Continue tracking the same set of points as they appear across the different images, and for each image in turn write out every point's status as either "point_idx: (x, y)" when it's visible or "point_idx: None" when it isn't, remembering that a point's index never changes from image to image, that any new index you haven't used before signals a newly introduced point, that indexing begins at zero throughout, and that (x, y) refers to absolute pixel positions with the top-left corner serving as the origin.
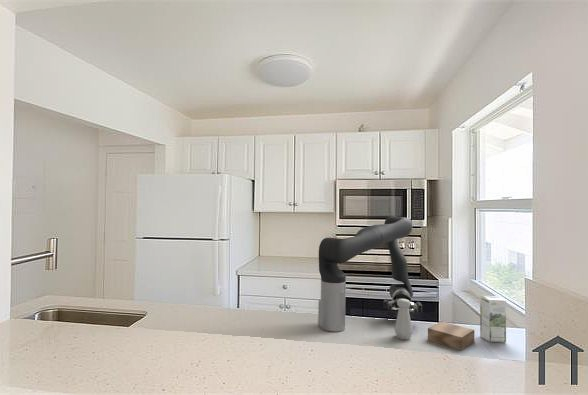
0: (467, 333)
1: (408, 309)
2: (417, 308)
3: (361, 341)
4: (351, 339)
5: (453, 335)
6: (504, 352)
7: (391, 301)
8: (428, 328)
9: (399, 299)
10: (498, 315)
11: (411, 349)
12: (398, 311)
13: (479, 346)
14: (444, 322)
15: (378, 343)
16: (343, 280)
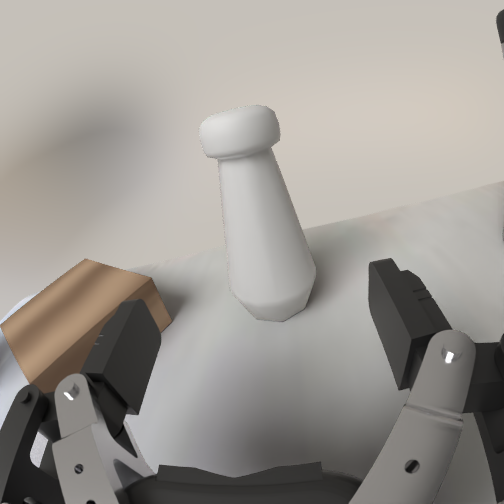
0: (44, 289)
1: (219, 168)
2: (95, 343)
3: (406, 220)
4: (436, 217)
5: (97, 263)
6: None
7: (460, 421)
8: (150, 277)
9: (259, 105)
10: None
11: None
12: (279, 171)
13: None
14: (27, 373)
15: (357, 230)
16: (501, 32)
